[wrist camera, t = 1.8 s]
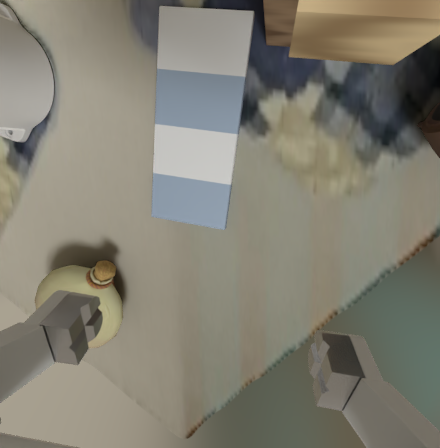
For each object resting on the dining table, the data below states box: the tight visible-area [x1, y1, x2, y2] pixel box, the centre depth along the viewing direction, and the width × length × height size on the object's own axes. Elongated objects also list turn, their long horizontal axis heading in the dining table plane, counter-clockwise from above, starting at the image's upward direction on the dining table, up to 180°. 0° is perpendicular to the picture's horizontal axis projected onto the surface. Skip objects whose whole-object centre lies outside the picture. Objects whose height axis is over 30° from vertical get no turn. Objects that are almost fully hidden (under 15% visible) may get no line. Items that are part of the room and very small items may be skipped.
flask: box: [35, 260, 123, 348], centre depth 46 cm, size 9×16×18 cm
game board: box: [152, 6, 255, 230], centre depth 37 cm, size 12×28×1 cm, turn 173°
